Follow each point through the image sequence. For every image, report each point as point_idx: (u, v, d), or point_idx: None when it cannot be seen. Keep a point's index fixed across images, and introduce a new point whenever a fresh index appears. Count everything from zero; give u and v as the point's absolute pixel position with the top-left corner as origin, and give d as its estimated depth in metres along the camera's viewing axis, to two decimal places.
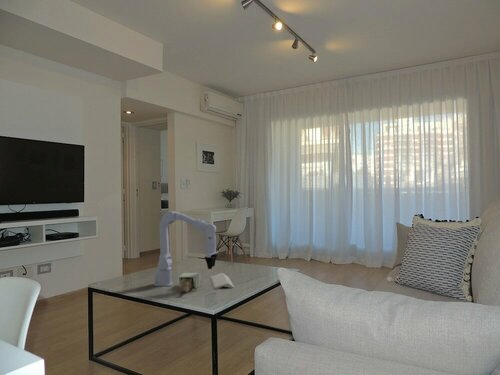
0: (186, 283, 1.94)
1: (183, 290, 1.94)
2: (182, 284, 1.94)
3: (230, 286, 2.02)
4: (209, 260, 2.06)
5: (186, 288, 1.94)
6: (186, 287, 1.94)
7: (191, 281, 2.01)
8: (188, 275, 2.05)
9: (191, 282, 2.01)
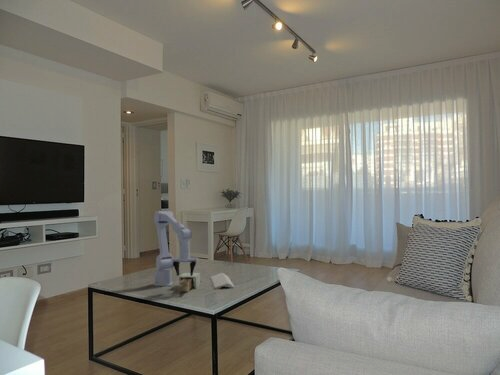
0: (186, 283, 1.94)
1: (183, 290, 1.94)
2: (182, 284, 1.94)
3: (230, 286, 2.02)
4: None
5: (186, 288, 1.94)
6: (186, 287, 1.94)
7: (191, 281, 2.01)
8: (188, 275, 2.05)
9: (191, 282, 2.01)
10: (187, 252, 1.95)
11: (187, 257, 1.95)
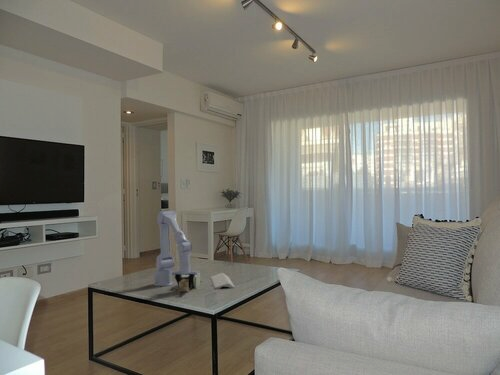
0: (186, 283, 1.94)
1: (183, 290, 1.94)
2: (182, 284, 1.94)
3: (230, 286, 2.02)
4: None
5: (186, 288, 1.94)
6: (186, 287, 1.94)
7: None
8: (188, 275, 2.05)
9: None
10: (187, 265, 1.95)
11: (187, 270, 1.95)
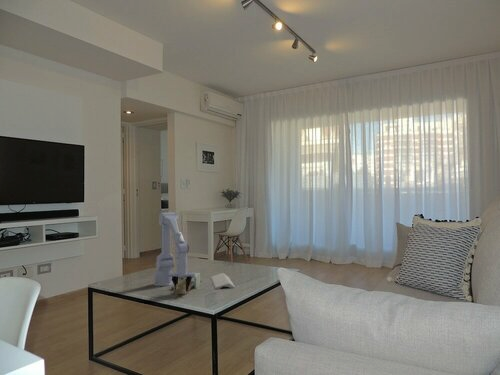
0: (183, 285, 1.89)
1: (181, 293, 1.89)
2: (179, 286, 1.89)
3: (231, 286, 2.02)
4: None
5: (183, 291, 1.88)
6: (183, 290, 1.89)
7: None
8: None
9: None
10: (184, 267, 1.89)
11: (184, 272, 1.89)
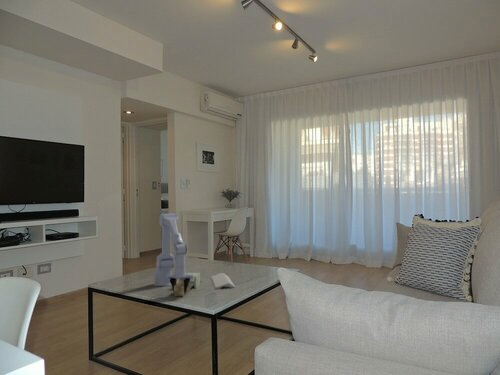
0: (181, 287, 1.85)
1: (179, 295, 1.85)
2: (177, 288, 1.85)
3: (231, 286, 2.02)
4: None
5: (181, 292, 1.85)
6: (181, 291, 1.85)
7: None
8: None
9: None
10: (182, 268, 1.86)
11: (182, 273, 1.86)
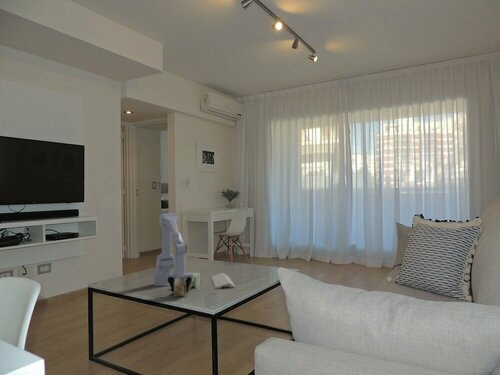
0: (181, 287, 1.85)
1: (179, 295, 1.85)
2: (177, 288, 1.85)
3: (231, 286, 2.02)
4: None
5: (181, 292, 1.85)
6: (181, 291, 1.85)
7: None
8: None
9: None
10: (183, 268, 1.86)
11: (182, 273, 1.86)
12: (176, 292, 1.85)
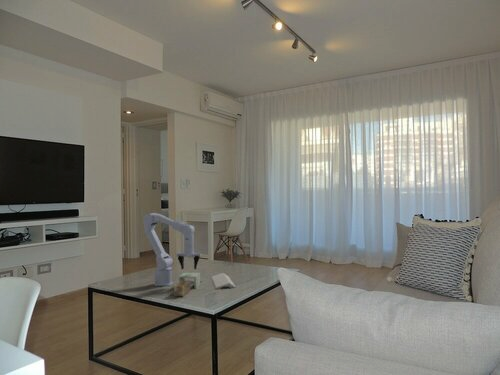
0: (181, 287, 1.85)
1: (179, 295, 1.85)
2: (177, 288, 1.85)
3: (231, 286, 2.02)
4: None
5: (181, 292, 1.85)
6: (181, 291, 1.85)
7: (187, 285, 1.92)
8: (188, 275, 2.05)
9: (187, 286, 1.92)
10: (191, 247, 2.07)
11: (191, 252, 2.07)
12: (176, 292, 1.85)
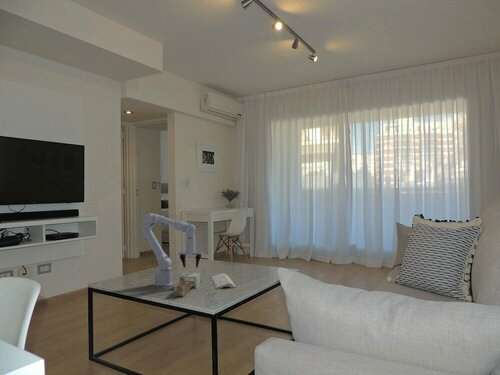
0: (181, 287, 1.85)
1: (179, 295, 1.85)
2: (177, 288, 1.85)
3: (232, 286, 2.02)
4: None
5: (181, 292, 1.85)
6: (181, 291, 1.85)
7: (187, 285, 1.92)
8: (188, 275, 2.05)
9: (187, 286, 1.92)
10: (193, 246, 2.12)
11: (193, 250, 2.12)
12: (176, 292, 1.85)
